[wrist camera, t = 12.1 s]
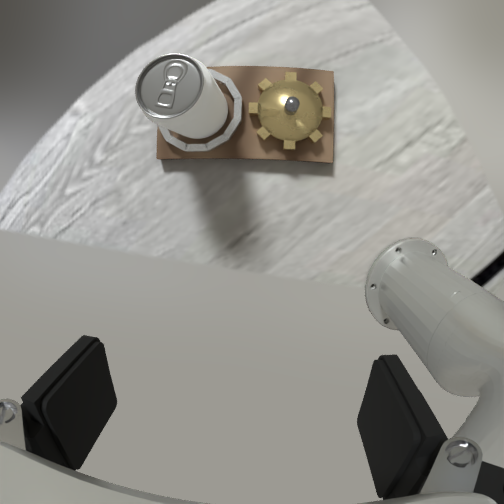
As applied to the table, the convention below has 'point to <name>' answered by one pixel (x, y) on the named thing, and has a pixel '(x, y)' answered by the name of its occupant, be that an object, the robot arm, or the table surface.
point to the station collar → (228, 132)
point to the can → (181, 96)
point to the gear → (289, 110)
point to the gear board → (245, 136)
